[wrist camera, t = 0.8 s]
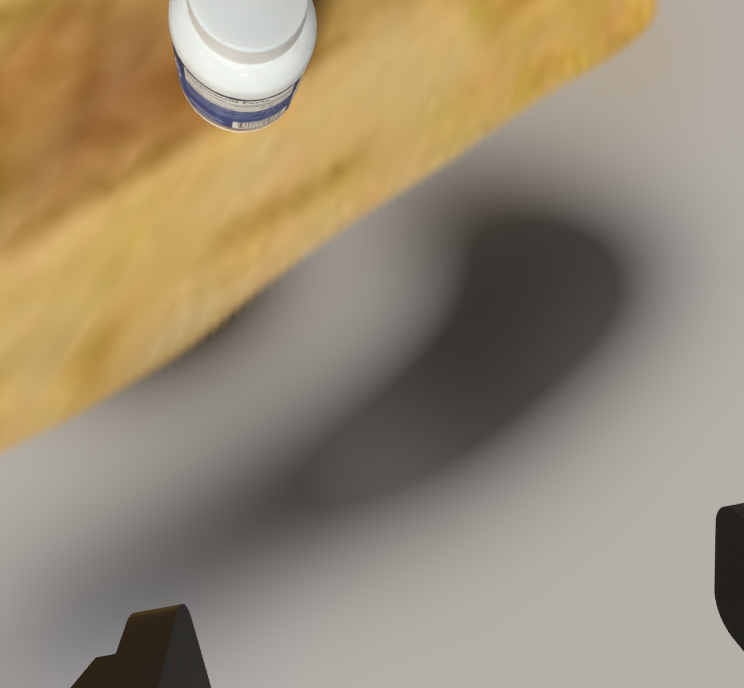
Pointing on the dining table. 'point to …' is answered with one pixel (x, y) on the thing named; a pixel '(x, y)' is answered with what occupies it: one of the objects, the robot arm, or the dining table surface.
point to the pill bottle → (241, 57)
